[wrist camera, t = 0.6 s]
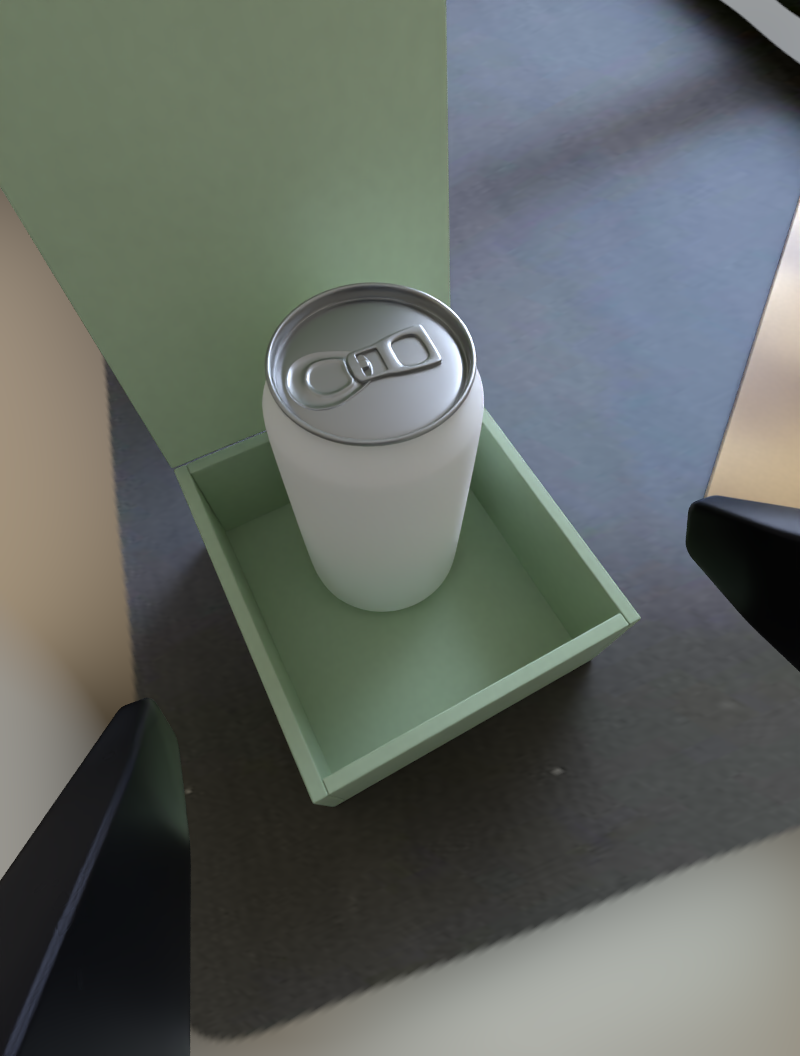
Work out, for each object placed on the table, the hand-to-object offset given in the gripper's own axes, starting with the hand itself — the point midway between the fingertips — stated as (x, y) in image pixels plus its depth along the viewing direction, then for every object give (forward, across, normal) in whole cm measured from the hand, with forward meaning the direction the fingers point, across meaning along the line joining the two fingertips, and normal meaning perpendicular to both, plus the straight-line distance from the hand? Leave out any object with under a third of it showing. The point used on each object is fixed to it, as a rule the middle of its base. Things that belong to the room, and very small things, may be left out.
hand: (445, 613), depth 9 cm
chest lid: (+13, 0, -5) cm, 14 cm away
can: (+15, -2, +8) cm, 17 cm away
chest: (+13, -1, +10) cm, 17 cm away
